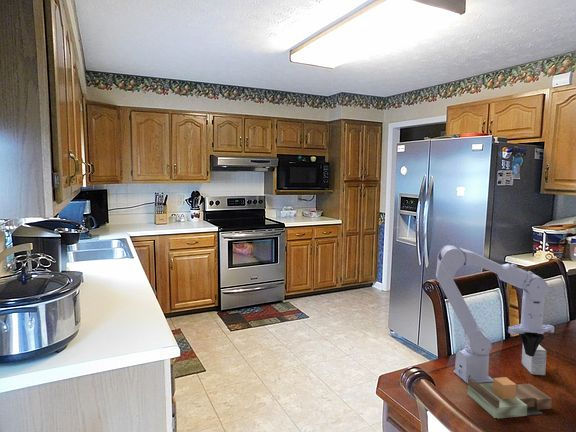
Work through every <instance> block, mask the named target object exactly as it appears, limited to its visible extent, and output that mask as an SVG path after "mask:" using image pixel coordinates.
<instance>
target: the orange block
mask: <svg viewBox="0 0 576 432" xmlns="http://www.w3.org/2000/svg"><path fill="white" fill-rule="evenodd" d="M492 379H493V382H492V383H493V392H494V393H496V394H497V395H498V396H499V397H501V398H502V399H509V398H516V385H517V383H515V382H513V381H512V380H510V378H508V377H507V376H505V377H504V376H503V377H502V376H501V377H493V378H492Z"/></svg>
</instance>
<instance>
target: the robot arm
mask: <svg viewBox="0 0 576 432" xmlns="http://www.w3.org/2000/svg"><path fill="white" fill-rule="evenodd" d="M463 265H464V267H469V266H473V265H474V266H477V267H479V268H482V269H484V270H486V271H489V272H491V273H495V274H496V275H497V276H498V279H499V280H500V281H502V282H505V283H507V284H509V285H511V286H513V287H516V288H518V289H522V296H521V297H522V298H521V299H522V301H521V302H522V303H521V314H520V315H521V317H520V323H519V324H515V325H513V326H508V327H507V328H508V329H507V333H508V334H510V335H511V336H516V335H519V337H520V339H521V342H522V345H524V349H525V354H527V355H528V356H530V357H531V356H534V355H535V352H536V350H537V348H538V346H539V345H540V344H541V343H542V341H544V339H545V335H544V334H545V333H555V326H554V325H551V324H544V323H543V322H544V308H545V296H546V294H547V293H548V292H549V289H550V287H549V286H548V283H547V281H546V280H545V279H544V278H542V277H540V276H539V275H536V273H534V272H532V271H530V270H528V271H527V270H525V269H523V268H520V267H518V265H517V264H515V263H511V264H510V263H504V264H501V263H498V262H495V261H493V260H492V259H489V258H487V257H485V256H482V255H480V254H478V253H476V252H475V251H471V250H468V249H465V248H462V247H457V246H456V245H452V244H447V245H444V246H443V247H442V248H441V249H440V251H439V252H438V254H437V263H436V271H435V278H436V280H437V282H438V283H439V285H440V288H441V289H442V291H443V292H444V295H445V296H446V299H447V300H448V302H449V304H450V306H451V308H452V310H453V312H454V314H455V315H456V316H455V317H457V319H458V321H459V323H460V325H461V327H462V329H463V331H464V332H463V335H464V336H463V337H464V338H465V340H466V343H465V345H464V348H463V349H462V350H459V351H457V352H456V354H455V361H454V362H455V364H454V370H453V373H454V374H456V375H457V376H458V377H459V378H460V379H461V380H463V381H464V382H465V383H466V384H468V378H472V379H473V380H475V381H476V382H477V383H478V384H481V383H493V379H494V378H492V377H490V376H489V364H490V352H491V350H492V348H493V344H492V342H491V340H490V339H489V338H488V337H487V335H486V334H485V331H484V330H483V329H482V328H481V327H480V326H479V325H478V323H477V321H476V319H475V317H474V315H473V314H472V312H471V310H470V308H469V306H468V305H467V302H466V301H465V299H464V297H463V295H462V293H461V291H460V290H459V288H458V285H457V284H456V282H455V280H454V278H455V275H456V273H457V272H458V270H460V269H461V268H462V267H463Z"/></svg>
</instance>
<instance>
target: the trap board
mask: <svg viewBox="0 0 576 432" xmlns="http://www.w3.org/2000/svg"><path fill="white" fill-rule="evenodd" d="M467 395H468V396H469V397H470V398H471V399H472V400H473V401H475V403H477V404H478V405H479V406H480V407H481V408H483V409H484V411H486V412H487V413H488V414H489V415H491V416H492V418H494V419H495V418H497V419H505V418H517V417H525V416H526V417H527V416H537V415H544V413H543V412H542V411H541V410H551V409H552V403H553V398H552V397H550V396H549V395H547V394H546V393H545V392H543V391H542V390H540V389H538V388H537V387H536V386H534V385H532V384H531V383H521V384H520V383H519V384H516V398H509V399H502V398H501V397H499V396H498V395H497V394H496V393H494V392H493V382H485V383H477V382H476V381H475V380H473V379H472V378H468V383H467Z"/></svg>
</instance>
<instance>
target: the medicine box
mask: <svg viewBox="0 0 576 432" xmlns="http://www.w3.org/2000/svg"><path fill="white" fill-rule="evenodd" d="M521 345H522V348H521V365H523V367H524V368H525V369H526V370H527V371H528V372H529V373H530V374H531V375H536V376H546V365H547V350H546V349H545V348H544V347H543V346H541V345H540V344H539V346H538V348H537V350H536V352H535V355H534V356H531V357H530V356H528V355H527V354H525V349H524V345H523V344H521Z"/></svg>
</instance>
